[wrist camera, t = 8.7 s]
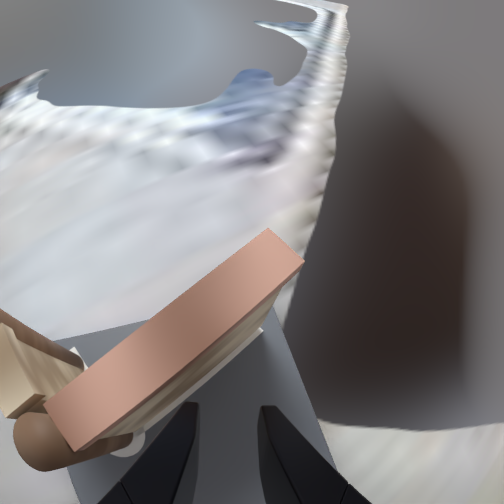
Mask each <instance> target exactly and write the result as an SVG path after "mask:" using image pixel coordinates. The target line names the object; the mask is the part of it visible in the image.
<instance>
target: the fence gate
mask: <svg viewBox="0 0 504 504" xmlns="http://www.w3.org/2000/svg"><path fill="white" fill-rule="evenodd" d="M304 262H305V261H304V260H303V259H302V258H301V257H300V256H299V255H298V254H297V253H295V252H294V251H293V250H292V249H291V248H290V247H289V246H288V245H287V244H286V243H285V242H283V241H282V240H281V239H280V238H279V237H278V236H277V235H276V234H275V233H274V232H272V231H271V230H270V229H269V228H267V229H266V230H265V231H263V232H262V233H261V234H259V235H258V236H257V237H255V238H254V239H253V240H251V241H250V242H249V243H248V244H246V245H245V246H244V247H242V248H241V249H240V250H238V251H237V252H236V253H235V254H233V255H232V256H231V257H229V258H228V259H227V260H226V261H224V262H223V263H222V264H220V265H219V266H218V267H216V268H215V269H214V270H213V271H211V272H210V273H209V274H207V275H206V276H205V277H204V278H202V279H201V280H200V281H198V282H197V283H196V284H195V285H193V286H192V287H191V288H189V289H188V290H187V291H185V292H184V293H183V294H182V295H180V296H179V297H178V298H177V299H175V300H174V301H173V302H171V303H170V304H169V305H168V306H166V307H165V308H164V309H162V310H161V311H160V312H159V313H157V314H156V315H155V316H153V317H152V318H151V319H150V320H148V321H147V322H146V323H145V324H143V325H142V326H141V327H139V328H138V329H137V330H136V331H134V332H133V333H132V334H131V335H129V336H128V337H127V338H125V339H124V340H123V341H122V342H120V343H119V344H118V345H117V346H115V347H114V348H113V349H112V350H110V351H109V352H108V353H106V354H105V355H104V356H103V357H101V358H100V359H99V360H98V361H96V362H95V363H94V364H93V365H91V366H90V367H89V368H88V369H86V370H85V371H84V372H83V373H81V374H80V375H79V376H78V377H76V378H75V379H74V380H73V381H71V382H70V383H69V384H68V385H66V386H65V387H64V388H63V389H61V390H60V391H59V392H58V393H56V394H55V395H54V396H53V397H51V398H50V399H49V400H48V401H46V402H45V403H44V404H43V406H44V407H45V409H46V411H47V412H48V414H43V413H33V412H28V413H24V414H22V415H21V416H20V417H19V418H18V419H17V420H16V422H15V425H14V430H13V437H14V443H15V446H16V449H17V451H18V453H19V454H20V456H21V457H22V459H23V460H24V461H25V462H26V463H27V464H28V465H29V466H31V467H32V468H34V469H36V470H38V471H43V472H47V471H52V470H56V469H60V468H63V467H67V466H71V465H74V464H77V463H81V462H84V461H87V460H90V459H94V458H97V457H100V456H103V455H106V454H109V453H111V452H114V451H117V450H120V449H123V448H125V447H127V446H129V445H130V444H131V442H132V440H133V432H136V431H137V430H138V429H140V428H141V427H142V426H143V425H145V424H146V423H147V422H149V421H150V420H151V419H152V418H154V417H155V416H156V415H157V414H159V413H160V412H161V411H163V410H164V409H165V408H166V407H168V406H169V405H170V404H171V403H172V402H174V401H175V400H176V399H177V398H179V397H180V396H181V395H182V394H183V393H185V392H186V391H187V390H188V389H190V388H191V387H192V386H193V385H194V384H196V383H197V382H198V381H199V380H200V379H201V378H203V377H204V376H205V375H206V374H207V373H209V372H210V371H211V370H212V369H213V368H214V367H216V366H217V365H218V364H219V363H220V362H221V361H222V360H224V359H225V358H226V357H227V356H228V355H229V354H230V353H232V352H233V351H234V350H235V349H236V348H237V347H238V346H240V345H241V344H242V343H243V342H244V341H245V340H246V339H247V338H248V337H250V336H251V335H252V334H253V333H254V332H255V331H256V330H257V329H258V328H260V327H261V326H262V324H263V322H264V320H265V318H266V316H267V315H268V313H269V311H270V309H271V307H272V305H273V303H274V302H275V300H276V298H277V296H278V294H279V292H280V290H281V288H282V287H283V286H284V285H285V284H286V283H287V282H288V281H289V280H290V279H291V278H292V277H293V276H295V275H296V274H297V273H298V272H299V271H300V269H301V267H302V265H303V264H304Z"/></svg>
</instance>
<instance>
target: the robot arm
mask: <svg viewBox="0 0 504 504" xmlns="http://www.w3.org/2000/svg"><path fill="white" fill-rule="evenodd" d="M257 437H258V455H259V471H260V478H261V484H262V488H263V493H264V498H265V502H266V504H372V503H371V502H369V501H368V500H367V499H366V498H365V497H364V496H363V495H361V494H360V493H359V492H358V491H357V490H356V489H355V488H354V487H353V486H352V485H351V484H348V481H347V480H346V479H345V478H344V477H343V476H342V475H341V474H340V473H339V472H338V471H337V470H336V469H335V468H334V467H333V466H332V465H331V464H330V463H329V462H328V461H327V460H326V459H325V458H324V457H323V456H322V455H321V454H320V453H319V452H318V451H317V450H316V449H315V448H314V447H313V446H312V444H311V443H310V442H309V441H308V440H307V439H306V438H305V437H304V436H303V435H302V434H301V433H300V432H299V430H298V429H297V428H296V427H295V426H294V425H293V424H292V423H291V422H290V420H289V419H288V418H287V417H286V416H285V415H284V414H283V413H282V411H281V410H280V409H279V408H278V407H277V406H276V405H262V406H261V407H260V411H259V418H258V424H257ZM199 438H200V404H199V403H198V402H188V401H186V402H184V403H183V404H182V405H181V406H180V408H179V409H178V410H177V411H176V413H175V414H174V415H173V416H172V417H171V419H170V420H169V421H168V422H167V424H166V425H165V426H164V427H163V428H162V430H161V431H160V432H159V433H158V435H157V436H156V437H155V438H154V439H153V441H152V442H151V443H150V444H149V445H148V447H147V448H146V449H145V450H144V451H143V453H142V454H141V455H140V456H139V457H138V458H137V460H136V461H135V462H134V463H133V464H132V465H131V467H130V468H129V469H128V470H127V471H126V472H125V474H124V475H123V476H122V477H121V478H120V481H117V483H116V484H115V485H114V486H113V487H112V488H111V489H110V491H109V492H108V493H107V494H106V495H105V496H104V497H103V498H102V499H101V500H100V501H99V502H98V503H97V504H193V499H194V493H195V488H196V482H197V476H198V463H199Z"/></svg>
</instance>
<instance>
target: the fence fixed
mask: <svg viewBox="0 0 504 504" xmlns="http://www.w3.org/2000/svg"><path fill="white" fill-rule="evenodd" d="M83 372H84V362H83V360H82V359H81V357H80V356H79V355H77V354H75V353H73V352H71V351H69V350H68V349H66V348H64V347H62V346H60V345H58V344H57V343H55V342H53V341H51V340H49V339H48V338H46V337H44V336H43V335H41V334H39V333H37V332H36V331H34V330H32V329H31V328H29V327H28V326H26V325H24V324H23V323H21V322H20V321H18V320H17V319H15V318H13V317H12V316H10V315H9V314H7V313H6V312H4V311H3V310H2V309H0V408H1V410H2V412H3V414H4V416H5V418H11V419H18V418H19V417H20V416H21V415H22V414H24V413H28V412H33V413H43V414H48V412H47V411H46V409H45V407H44V406H43V404H44V403H45V402H46V401H48V400H49V399H50V398H51V397H53V396H54V395H55V394H56V393H58V392H59V391H60V390H61V389H63V388H64V387H65V386H66V385H68V384H69V383H70V382H71V381H73V380H74V379H75V378H76V377H78V376H79V375H80V374H81V373H83Z"/></svg>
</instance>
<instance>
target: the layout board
mask: <svg viewBox="0 0 504 504" xmlns="http://www.w3.org/2000/svg"><path fill="white" fill-rule="evenodd" d="M149 320H150V319H149ZM147 321H148V320H145V321H141V322H137V323H132V324H128V325H124V326H120V327H115V328H111V329H107V330H102V331H98V332H93V333H89V334H84V335H80V336H75V337H71V338H66V339H61V340H56V341H53V342H55V343H57V344H58V345H60V346H62V347H64V348H66V349H68V350H69V351H71V352H73V353H75V354H77V355H79V356H80V357H81V359H82V360H83V362H84V371H85V370H86V369H88V368H89V367H90V366H91V365H93V364H94V363H95V362H96V361H98V360H99V359H100V358H101V357H103V356H104V355H105V354H106V353H108V352H109V351H110V350H112V349H113V348H114V347H115V346H117V345H118V344H119V343H120V342H122V341H123V340H124V339H125V338H127V337H128V336H129V335H131V334H132V333H133V332H134V331H136V330H137V329H138V328H139V327H141V326H142V325H143V324H145V323H146V322H147ZM186 401H188V402H198V403H199V404H200V438H199V463H198V476H197V482H196V488H195V493H194V499H193V504H266V502H265V498H264V493H263V488H262V484H261V478H260V471H259V455H258V437H257V424H258V418H259V411H260V407H261V406H262V405H276V406H277V407H278V408H279V409H280V410H281V411H282V413H283V414H284V415H285V416H286V417H287V418H288V419H289V420H290V422H291V423H292V424H293V425H294V426H295V427H296V428H297V429H298V430H299V432H300V433H301V434H302V435H303V436H304V437H305V438H306V439H307V440H308V441H309V442H310V443H311V444H312V446H313V447H314V448H315V449H316V450H317V451H318V452H319V453H320V454H321V455H322V456H323V457H324V458H325V459H326V460H327V461H328V462H329V463H330V464H331V465H332V466H333V467H334V468H335V469H336V466H335V464H334V461H333V458H332V456H331V453H330V451H329V448H328V446H327V443H326V441H325V438H324V436H323V433H322V430H321V428H320V425H319V423H318V420H317V418H316V415H315V413H314V410H313V408H312V405H311V402H310V400H309V397H308V395H307V392H306V390H305V387H304V385H303V382H302V380H301V377H300V375H299V372H298V369H297V367H296V364H295V362H294V359H293V357H292V354H291V352H290V349H289V346H288V344H287V341H286V339H285V336H284V334H283V331H282V329H281V326H280V323H279V321H278V318H277V316H276V313H275V311H274V308H273V306H272V307H271V309H270V311H269V313H268V315H267V316H266V318H265V320H264V322H263V324H262V326H261V327H260V328H258V329H257V330H256V331H255V332H254V333H253V334H252V335H251V336H250V337H248V338H247V339H246V340H245V341H244V342H243V343H242V344H241V345H240V346H238V347H237V348H236V349H235V350H234V351H233V352H232V353H230V354H229V355H228V356H227V357H226V358H225V359H224V360H222V361H221V362H220V363H219V364H218V365H217V366H216V367H214V368H213V369H212V370H211V371H210V372H209V373H207V374H206V375H205V376H204V377H203V378H201V379H200V380H199V381H198V382H197V383H196V384H194V385H193V386H192V387H191V388H190V389H188V390H187V391H186V392H185V393H183V394H182V395H181V396H180V397H179V398H177V399H176V400H175V401H174V402H172V403H171V404H170V405H169V406H168V407H166V408H165V409H164V410H163V411H161V412H160V413H159V414H157V415H156V416H155V417H154V418H152V419H151V420H150V421H149V422H147V423H146V424H145V425H143V426H142V427H141V428H140V429H138V430H137V431H136V432H133V440H132V442H131V444H130V445H129V446H127V447H125V448H123V449H120V450H117V451H114V452H111V453H109V454H106V455H103V456H100V457H97V458H94V459H90V460H87V461H84V462H81V463H77V464H74V465H71V466H67V470H68V472H69V475H70V478H71V481H72V483H73V486H74V489H75V491H76V494H77V496H78V499H79V501H80V503H81V504H97V503H98V502H99V501H100V500H101V499H102V498H103V497H104V496H105V495H106V494H107V493H108V492H109V491H110V489H111V488H112V487H113V486H114V485H115V484H116V483H117V481H120V478H121V477H122V476H123V475H124V474H125V472H126V471H127V470H128V469H129V468H130V467H131V465H132V464H133V463H134V462H135V461H136V460H137V458H138V457H139V456H140V455H141V454H142V453H143V451H144V450H145V449H146V448H147V447H148V445H149V444H150V443H151V442H152V441H153V439H154V438H155V437H156V436H157V435H158V433H159V432H160V431H161V430H162V428H163V427H164V426H165V425H166V424H167V422H168V421H169V420H170V419H171V417H172V416H173V415H174V414H175V413H176V411H177V410H178V409H179V408H180V406H181V405H182V404H183V403H184V402H186ZM336 470H337V469H336Z"/></svg>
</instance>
